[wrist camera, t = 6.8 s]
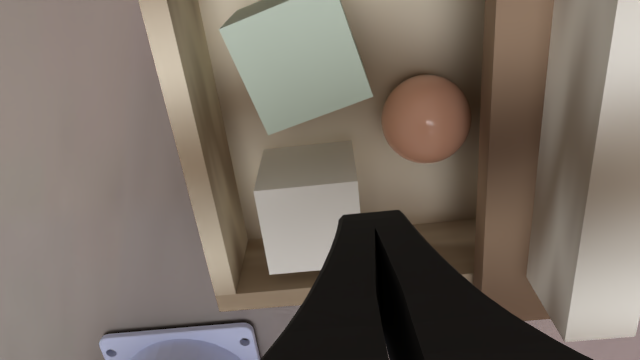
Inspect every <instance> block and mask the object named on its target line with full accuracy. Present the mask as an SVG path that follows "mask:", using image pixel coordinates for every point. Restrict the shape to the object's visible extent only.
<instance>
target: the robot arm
mask: <svg viewBox="0 0 640 360" xmlns="http://www.w3.org/2000/svg"><path fill="white" fill-rule="evenodd" d="M243 338H246V339H248V340H243ZM99 347H100V349H101V351H102V354H103V356H104V358H105V360H389V359H390V360H593V359H591V358H589V357H587V356H585V355H583V354H581V353H579V352H577V351H575V350H573V349H571V348H569V347H567V346H566V345H564V344H562V343H560V342H558V341H556V340H555V339H553V338H551V337H549V336H548V335H546V334H544V333H543V332H541V331H539V330H538V329H536V328H534V327H533V326H531V325H529V324H527V323H526V322H524V321H523V320H521V319H520V318H518V317H516V316H515V315H513V314H512V313H510V312H509V311H507V310H506V309H505V308H503V307H502V306H500V305H499V304H498V303H496V302H495V301H493V300H492V299H491V298H489V297H488V296H487V295H485V294H484V293H483V292H481V291H480V290H479V289H478V288H476V287H475V286H474V285H473V284H472V283H471V282H469V281H468V280H467V279H466V278H465V277H464V276H462V275H461V274H460V273H459V272H458V271H457V270H456V269H455V268H454V267H452V266H451V265H450V264H449V263H448V262H447V261H446V260H445V259H444V258H443V257H442V256H441V255H440V254H439V253H438V252H437V251H436V250H435V249H434V248H433V247H432V246H431V245H430V244H429V243H428V242H427V241H426V239H425V238H424V237H423V236H422V235H421V234H420V233H419V232H418V231H417V229H416V228H415V227H414V226H413V225H412V223H411V222H410V221H409V220H408V219H407V217H406V216H405V215H404V214H403V213H402V212H401V211H400V210H390V211H379V212H368V213H357V214H346V215H343V216H342V217H341V218H340V219H339V220H338V227H337V231H336V234H335V238H334V240H333V243H332V246H331V249H330V251H329V253H328V255H327V258H326V260H325V262H324V264H323V267H322V269H321V271H320V273H319V275H318V277H317V279H316V280H315V282H314V284H313V286H312V288H311V289H310V291H309V293H308V295H307V297H306V298H305V300H304V302H303V303H302V305H301V306H300V308H299V310H298V311H297V313H296V314H295V316H294V317H293V318H292V320H291V321H290V323H289V324H288V326H287V327H286V328H285V330H284V331H283V332H282V334H281V335H280V336H279V337H278V339H277V340H276V341H275V342H274V344H273V345H272V346H271V347H270V349H269V350H268V351H267V352H266V354H265V355H264V356H263V357H262V358H261V359H260V355H259V351H258V347H257V342H256V338H255V333H254V329H253V327H252V326H251V325H250V324H248V323H231V324H219V325H207V326H195V327H184V328H172V329H160V330H148V331H136V332H125V333H113V334H106V335H104V336H102V338H101V340H100V342H99ZM386 347H387V348H386ZM110 349H111V350H110ZM112 350H114V351H112ZM387 351H388V353H387ZM388 355H389V358H388Z"/></svg>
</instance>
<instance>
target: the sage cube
mask: <svg viewBox="0 0 640 360" xmlns="http://www.w3.org/2000/svg"><path fill="white" fill-rule="evenodd" d="M219 31H220V33H221V35H222V38H223V40H224V42H225V44H226V46H227V48H228V50H229V52H230V55H231V57H232V59H233V61H234V63H235V65H236V67H237V70H238V72H239V74H240V76H241V78H242V80H243V82H244V85H245V87H246V89H247V91H248V93H249V95H250V97H251V100H252V102H253V104H254V106H255V108H256V110H257V112H258V115H259V117H260V119H261V121H262V123H263V125H264V127H265V129H266V132H267V134H268V135H271V134H273V133H276V132H279V131H281V130H284V129H287V128H290V127H292V126H295V125H298V124H300V123H303V122H306V121H309V120H311V119H314V118H317V117H319V116H322V115H325V114H328V113H330V112H333V111H336V110H338V109H341V108H344V107H347V106H349V105H352V104H355V103H357V102H360V101H363V100H366V99H368V98H371V97H373V94H372V91H371V88H370V85H369V82H368V78H367V75H366V72H365V69H364V66H363V63H362V60H361V57H360V55H359V52H358V49H357V46H356V43H355V40H354V37H353V35H352V32H351V29H350V26H349V23H348V20H347V17H346V15H345V12H344V9H343V6H342V3H341V0H261V1H258V2H256V3H253V4H251V5H249V6H246V7H244V8H241V9H239V10H237V11H236V12H235V13H234V14H233V15H232V16H231V17H230V18H229V19H228V20H227V21H226V22H225V23H224V24H223V25H222V26H221V28H220V29H219Z"/></svg>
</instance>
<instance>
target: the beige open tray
mask: <svg viewBox="0 0 640 360" xmlns="http://www.w3.org/2000/svg"><path fill="white" fill-rule="evenodd" d="M138 1H139V5H140V9H141V12H142V16H143V20H144V24H145V28H146V32H147V35H148V39H149V43H150V47H151V51H152V55H153V58H154V62H155V66H156V70H157V74H158V78H159V82H160V85H161V89H162V93H163V97H164V101H165V105H166V108H167V112H168V116H169V120H170V124H171V128H172V131H173V135H174V139H175V143H176V147H177V151H178V154H179V158H180V162H181V166H182V170H183V174H184V177H185V181H186V185H187V189H188V193H189V197H190V200H191V204H192V208H193V212H194V216H195V220H196V224H197V227H198V231H199V235H200V239H201V243H202V247H203V250H204V254H205V258H206V262H207V266H208V270H209V273H210V277H211V281H212V285H213V289H214V293H215V296H216V300H217V304H218V308H219V312H224V311H236V310H248V309H259V308H271V307H282V306H294V305H302V303H303V302H304V300H305V298H306V297H307V295H308V293H309V291H310V289H311V288H312V286H313V284H314V282H315V280H316V279H317V277H318V275H319V273H320V271H321V270H317V271H306V272H295V273H284V274H272V275H269V270H268V264H267V259H266V254H265V249H264V244H263V238H262V233H261V228H260V223H259V218H258V212H257V207H256V202H255V197H254V192H253V191H254V187H255V183H256V179H257V175H258V171H259V166H260V162H261V158H262V154H263V150H264V149H272V148H282V147H292V146H302V145H312V144H322V143H331V142H341V141H351V140H352V147H353V154H354V160H355V167H356V173H357V180H358V191H359V203H360V213H368V212H379V211H390V210H400V211H401V212H402V213H403V214H404V215H405V216H406V217H407V219H408V220H409V221H410V222H411V223H412V225H413V226H414V227H415V228H416V229H417V231H418V232H419V233H420V234H421V235H422V236H423V237H424V238H425V239H426V241H427V242H428V243H429V244H430V245H431V246H432V247H433V248H434V249H435V250H436V251H437V252H438V253H439V254H440V255H441V256H442V257H443V258H444V259H445V260H446V261H447V262H448V263H449V264H450V265H451V266H452V267H454V268H455V269H456V270H457V271H458V272H459V273H460V274H461V275H462V276H464V277H465V278H466V279H467V280H468V281H469V282H471V283H472V284H473V281H474V257H475V232H476V208H477V183H478V158H479V134H480V109H481V85H482V60H483V35H484V11H485V0H341V3H342V6H343V9H344V12H345V15H346V17H347V20H348V23H349V26H350V29H351V32H352V35H353V37H354V40H355V43H356V46H357V49H358V52H359V55H360V57H361V60H362V63H363V66H364V69H365V72H366V75H367V78H368V82H369V85H370V88H371V91H372V94H373V97H371V98H368V99H366V100H363V101H360V102H357V103H355V104H352V105H349V106H347V107H344V108H341V109H338V110H336V111H333V112H330V113H328V114H325V115H322V116H319V117H317V118H314V119H311V120H309V121H306V122H303V123H300V124H298V125H295V126H292V127H290V128H287V129H284V130H281V131H279V132H276V133H273V134H271V135H268V134H267V132H266V129H265V127H264V125H263V123H262V121H261V119H260V117H259V115H258V112H257V110H256V108H255V106H254V104H253V102H252V100H251V97H250V95H249V93H248V91H247V89H246V87H245V85H244V82H243V80H242V78H241V76H240V74H239V72H238V70H237V67H236V65H235V63H234V61H233V59H232V57H231V55H230V52H229V50H228V48H227V46H226V44H225V42H224V40H223V38H222V35H221V33H220V31H219V29H220V28H221V26H222V25H223V24H224V23H225V22H226V21H227V20H228V19H229V18H230V17H231V16H232V15H233V14H234V13H235V12H236V11H237V10H239V9H241V8H244V7H246V6H249V5H251V4H253V3H256V2H258V1H261V0H138ZM419 75H436V76H440V77H443V78H446V79H448V80H450V81H451V82H453V83H454V84H455V85H457V86H458V87H459V88H460V89H461V90H462V92H463V93H464V94H465V96H466V98H467V100H468V102H469V105H470V109H471V117H472V120H471V127H470V131H469V134H468V137H467V139H466V140H465V142H464V143H463V145H462V146H461V147H460V148H459V150H458V151H456V152H455V153H454V154H453V155H451V156H450V157H448V158H446V159H444V160H442V161H439V162H435V163H426V164H423V163H415V162H412V161H409V160H407V159H405V158H403V157H401V156H400V155H398V154H397V153H396V152H395V151H394V150H393V149H392V148H391V147H390V146H389V144H388V143H387V141H386V139H385V136H384V134H383V130H382V124H381V116H382V110H383V107H384V104H385V101H386V99H387V98H388V96H389V94H390V93H391V92H392V91H393V90H394V89H395V88H396V87H397V86H398V85H399V84H400V83H402V82H404V81H405V80H407V79H409V78H412V77H415V76H419Z"/></svg>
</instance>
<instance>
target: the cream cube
mask: <svg viewBox="0 0 640 360" xmlns="http://www.w3.org/2000/svg"><path fill="white" fill-rule="evenodd" d="M253 192H254V197H255V202H256V207H257V212H258V218H259V223H260V228H261V233H262V238H263V244H264V249H265V254H266V259H267V264H268V270H269V275H272V274H284V273H295V272H306V271H317V270H321V269H322V267H323V264H324V262H325V260H326V258H327V255H328V253H329V251H330V249H331V246H332V243H333V240H334V238H335V234H336V231H337V227H338V220H339V219H340V218H341V217H342V216H343V215H346V214H357V213H360V203H359V191H358V180H357V173H356V167H355V160H354V154H353V147H352V140H351V141H341V142H331V143H322V144H312V145H302V146H292V147H282V148H272V149H264V150H263V154H262V158H261V162H260V166H259V171H258V175H257V179H256V183H255V187H254V191H253Z"/></svg>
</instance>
